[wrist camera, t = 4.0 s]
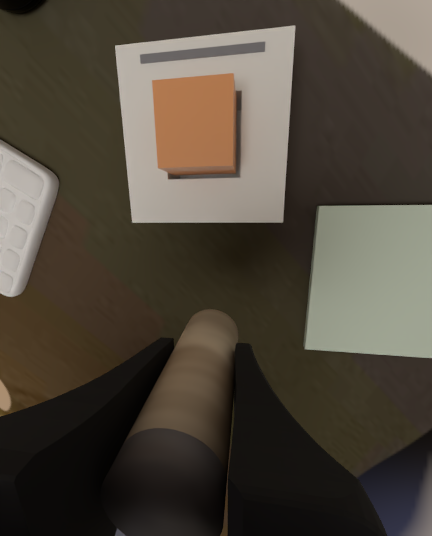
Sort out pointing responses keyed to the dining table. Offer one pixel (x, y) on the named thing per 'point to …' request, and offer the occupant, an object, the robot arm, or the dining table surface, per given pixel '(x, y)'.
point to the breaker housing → (247, 127)
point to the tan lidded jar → (180, 440)
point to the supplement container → (18, 5)
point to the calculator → (22, 215)
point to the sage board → (371, 280)
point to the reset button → (196, 124)
